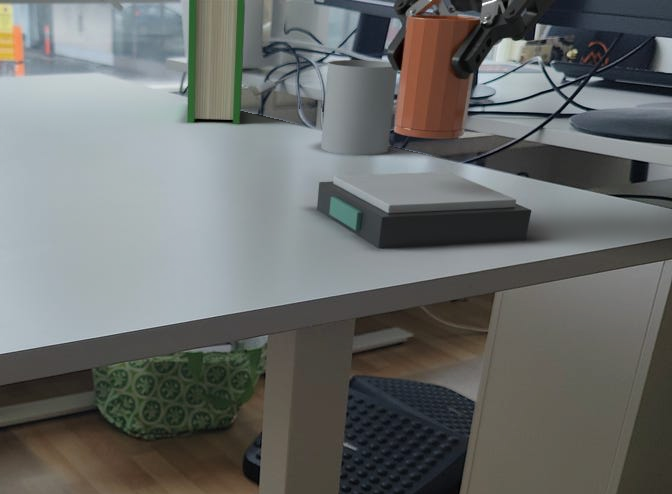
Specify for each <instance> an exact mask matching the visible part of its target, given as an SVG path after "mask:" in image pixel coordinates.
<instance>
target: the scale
mask: <svg viewBox="0 0 672 494" xmlns="http://www.w3.org/2000/svg"><path fill="white" fill-rule="evenodd" d="M316 211H317V212H319V213H321V214H323V215H324V216H326V217H327V218H329V219H331V220H332V221H334V222H335V223H337V224H338V225H340V226H341V227H343V228H345V229H346V230H348V231H349V232H351V233H353V234H354V235H356V236H358V237H359V238H361V239H362V240H364V241H366V242H367V243H369V244H371V245H372V246H374V247H375V248H377V249H395V248H414V247H431V246H448V245H450V246H451V245H465V244H467V245H468V244H482V243H499V242H500V243H501V242H518V241H526V240H527V235H528V230H529V226H530V220H531V214H532V209H530V208H528V207H525V206H523V205H521V204H519V203H517V199H516V198H514V197H512V196H509V195H507V194H504V193H502V192H499V191H496V190H494V189H492V188H490V187H487V186H485V185H482V184H479V183H478V182H475V181H473V180H470V179H467V178H465V177H463V176H460V175H457V174H455V173H453V172H451V171H435V172H434V171H433V172H432V171H430V172H409V173H408V172H407V173H406V172H403V173H380V174H379V173H378V174H377V173H376V174H353V175H352V174H350V175H334V176H333V180H332V181H319V183H318V191H317V204H316Z"/></svg>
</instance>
